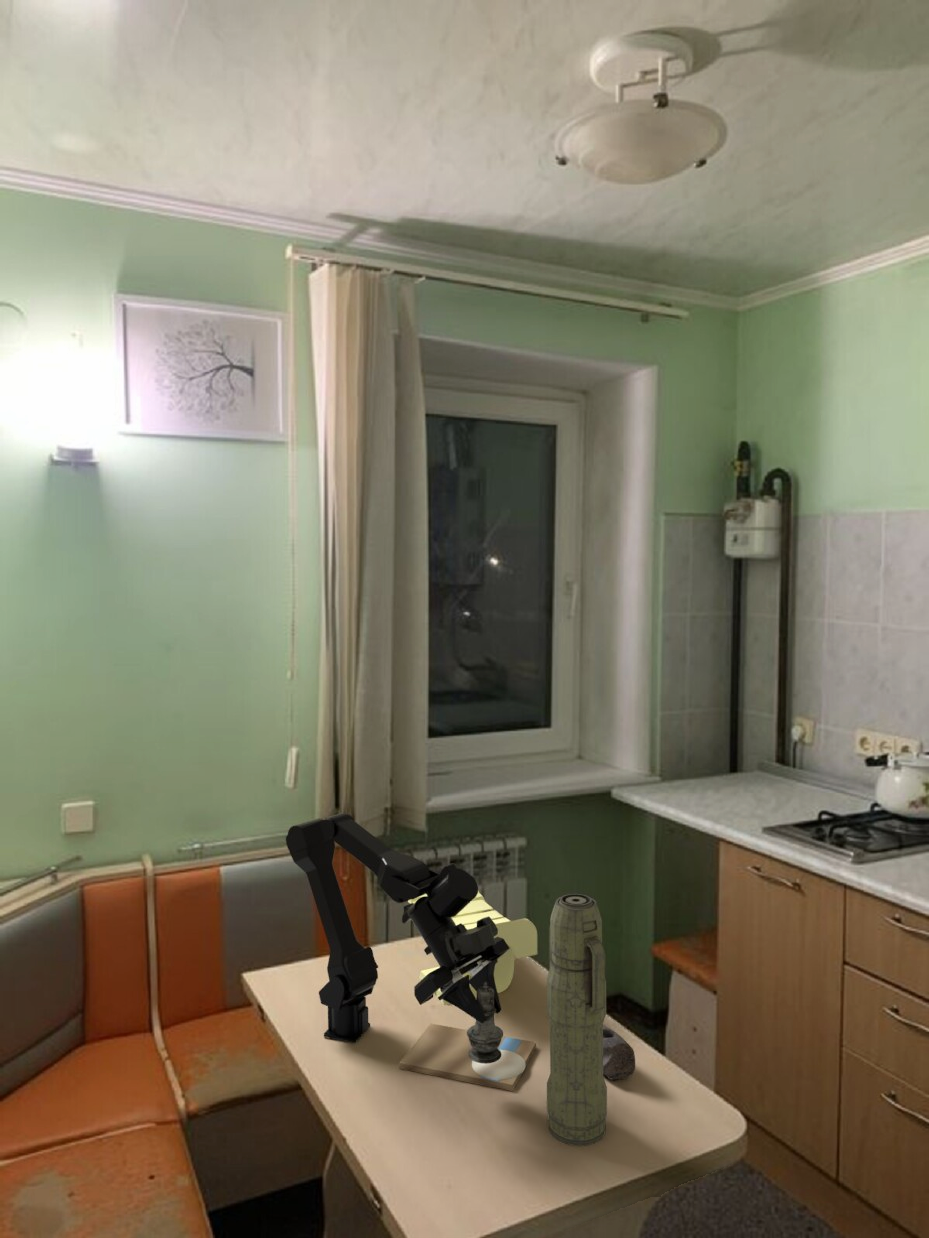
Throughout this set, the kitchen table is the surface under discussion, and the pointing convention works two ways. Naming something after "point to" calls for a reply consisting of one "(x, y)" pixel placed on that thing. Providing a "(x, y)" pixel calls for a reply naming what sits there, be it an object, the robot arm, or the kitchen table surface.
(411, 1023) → the kitchen table surface
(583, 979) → the thermos
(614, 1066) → the perforated stone tool
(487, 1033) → the dark grey chess piece
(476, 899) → the slatted curved stool
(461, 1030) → the board
